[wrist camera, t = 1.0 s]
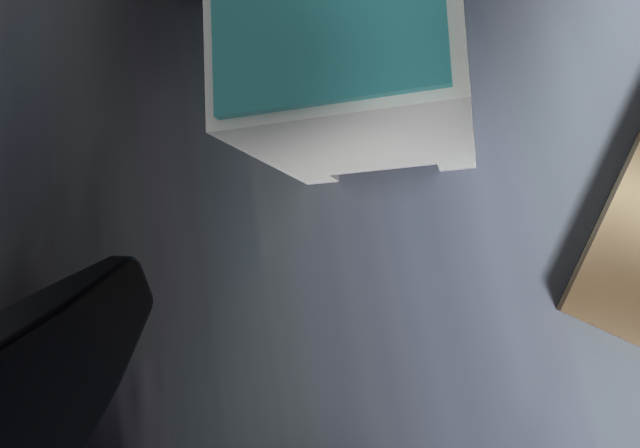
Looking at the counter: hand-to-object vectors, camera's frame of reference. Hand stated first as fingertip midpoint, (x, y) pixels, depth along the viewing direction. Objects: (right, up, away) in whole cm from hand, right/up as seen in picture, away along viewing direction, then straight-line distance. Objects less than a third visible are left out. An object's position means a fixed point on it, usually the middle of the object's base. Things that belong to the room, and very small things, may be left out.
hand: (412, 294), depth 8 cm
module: (+1, +5, +15) cm, 16 cm away
